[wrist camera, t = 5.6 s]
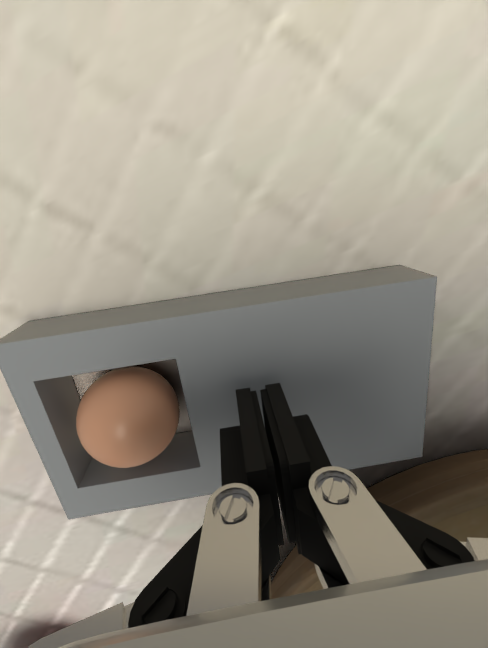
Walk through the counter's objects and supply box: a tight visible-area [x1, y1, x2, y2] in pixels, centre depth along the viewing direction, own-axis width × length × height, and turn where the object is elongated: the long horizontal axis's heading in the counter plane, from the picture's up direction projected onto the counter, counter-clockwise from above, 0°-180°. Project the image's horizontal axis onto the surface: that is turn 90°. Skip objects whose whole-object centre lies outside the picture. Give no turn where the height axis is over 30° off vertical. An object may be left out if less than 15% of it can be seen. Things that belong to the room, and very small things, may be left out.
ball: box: [76, 366, 180, 468], centre depth 13 cm, size 4×4×4 cm
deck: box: [0, 265, 437, 519], centre depth 14 cm, size 8×16×2 cm, turn 97°
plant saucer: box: [271, 449, 488, 599], centre depth 21 cm, size 31×31×5 cm
